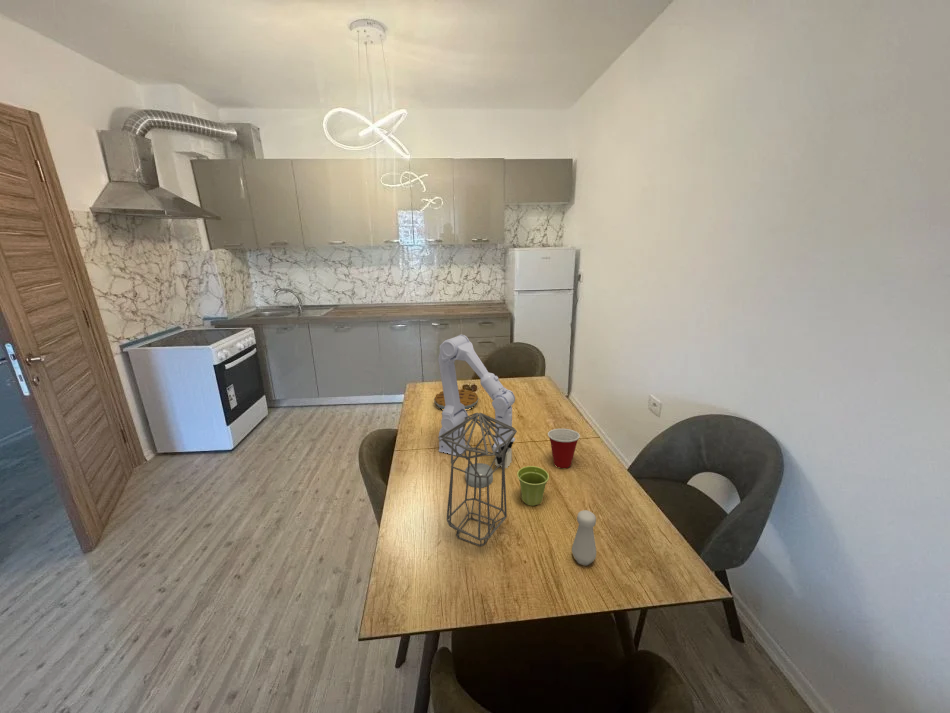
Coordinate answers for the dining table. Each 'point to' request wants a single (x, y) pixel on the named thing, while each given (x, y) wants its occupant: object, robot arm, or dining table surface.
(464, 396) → the pie
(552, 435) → the plastic cup
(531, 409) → the dining table surface
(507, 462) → the cream block
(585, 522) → the salt shaker
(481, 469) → the grey disc
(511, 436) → the geometric lantern
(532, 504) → the plant pot
